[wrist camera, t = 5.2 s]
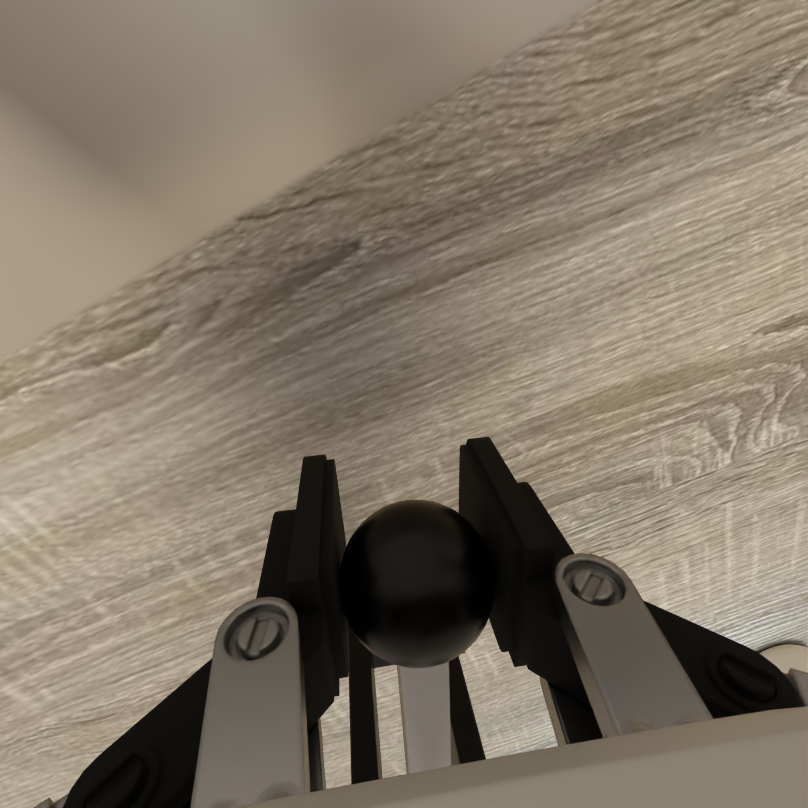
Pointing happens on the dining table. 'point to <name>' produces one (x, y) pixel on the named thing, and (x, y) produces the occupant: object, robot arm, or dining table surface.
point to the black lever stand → (366, 717)
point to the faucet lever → (418, 609)
